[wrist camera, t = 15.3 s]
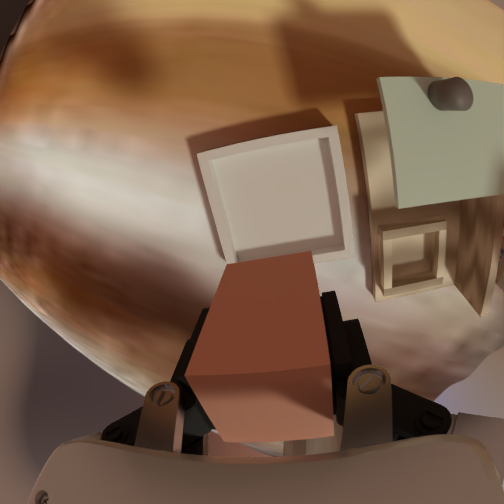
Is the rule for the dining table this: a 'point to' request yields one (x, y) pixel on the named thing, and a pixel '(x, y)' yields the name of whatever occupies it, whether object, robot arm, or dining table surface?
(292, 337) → the block
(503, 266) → the cracker box
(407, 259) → the small wooden cabinet
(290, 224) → the tray
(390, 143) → the lid
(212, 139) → the dining table surface
